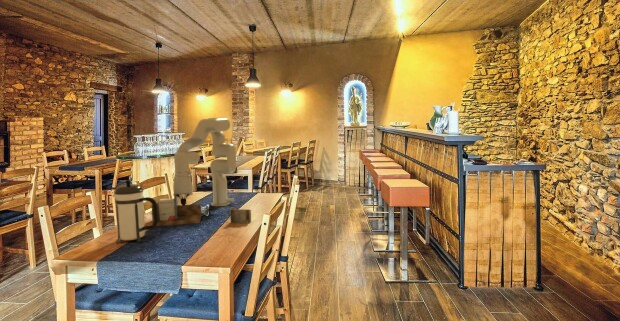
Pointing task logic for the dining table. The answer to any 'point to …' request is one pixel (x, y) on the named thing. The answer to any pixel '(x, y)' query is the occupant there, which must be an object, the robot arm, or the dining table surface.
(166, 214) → the ink box
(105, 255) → the dining table surface
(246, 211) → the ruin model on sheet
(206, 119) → the robot arm
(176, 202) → the bookend
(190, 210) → the walnut shelf
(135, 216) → the coffee press
